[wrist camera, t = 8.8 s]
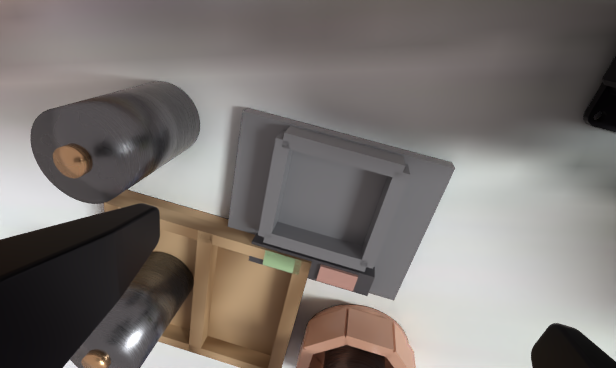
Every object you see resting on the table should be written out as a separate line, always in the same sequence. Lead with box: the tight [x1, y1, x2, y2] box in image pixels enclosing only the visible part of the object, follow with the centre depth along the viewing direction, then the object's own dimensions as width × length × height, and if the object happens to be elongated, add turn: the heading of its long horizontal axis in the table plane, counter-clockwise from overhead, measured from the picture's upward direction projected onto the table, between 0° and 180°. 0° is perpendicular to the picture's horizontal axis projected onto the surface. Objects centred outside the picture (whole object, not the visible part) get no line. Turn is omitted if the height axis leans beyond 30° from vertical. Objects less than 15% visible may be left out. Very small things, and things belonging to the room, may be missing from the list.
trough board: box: [104, 190, 312, 368], centre depth 25 cm, size 14×12×2 cm
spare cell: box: [31, 81, 200, 204], centre depth 17 cm, size 4×4×8 cm
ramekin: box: [296, 305, 416, 368], centre depth 25 cm, size 8×8×3 cm
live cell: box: [70, 252, 194, 368], centre depth 22 cm, size 4×4×8 cm
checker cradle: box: [228, 108, 455, 300], centre depth 20 cm, size 12×10×2 cm
